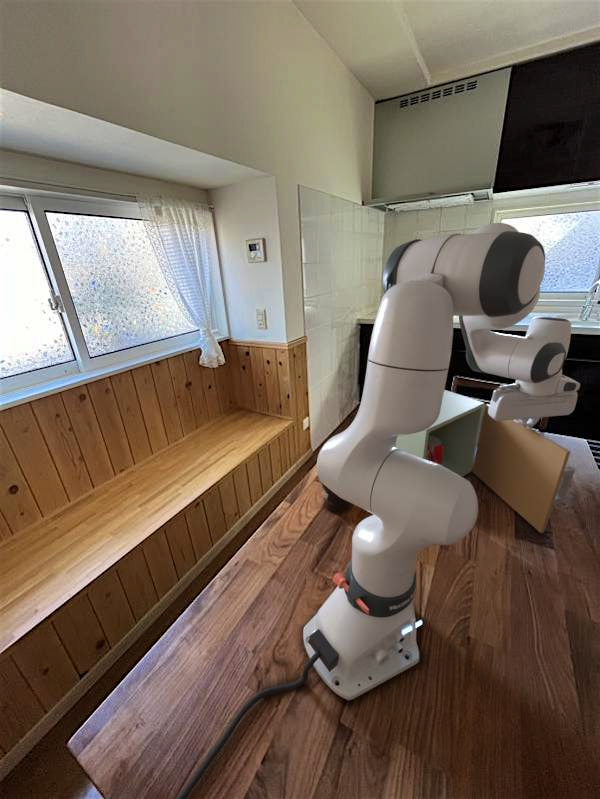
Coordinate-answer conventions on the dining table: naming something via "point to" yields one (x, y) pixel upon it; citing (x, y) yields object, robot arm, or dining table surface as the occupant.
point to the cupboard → (450, 433)
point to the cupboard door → (522, 468)
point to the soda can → (434, 449)
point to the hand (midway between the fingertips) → (525, 430)
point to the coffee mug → (333, 500)
